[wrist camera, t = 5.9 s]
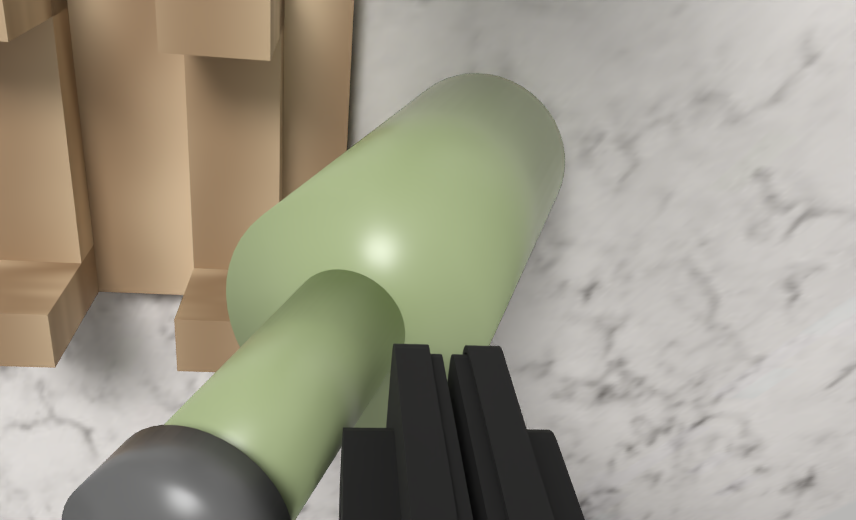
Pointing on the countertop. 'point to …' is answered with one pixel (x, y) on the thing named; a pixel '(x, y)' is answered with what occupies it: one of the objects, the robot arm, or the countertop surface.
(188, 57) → the rest
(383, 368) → the bottle
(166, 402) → the countertop surface
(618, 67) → the countertop surface
